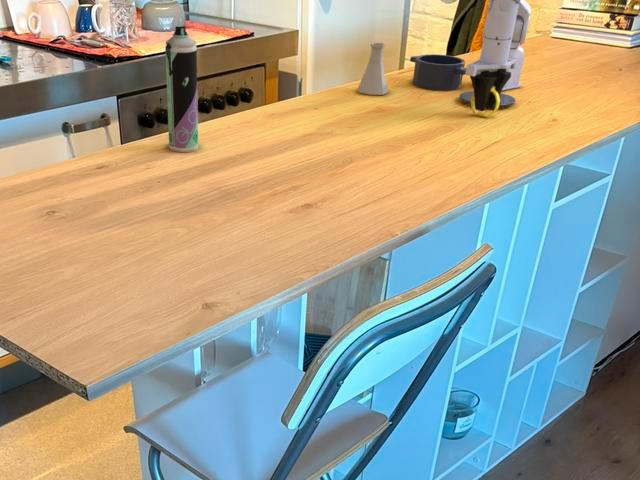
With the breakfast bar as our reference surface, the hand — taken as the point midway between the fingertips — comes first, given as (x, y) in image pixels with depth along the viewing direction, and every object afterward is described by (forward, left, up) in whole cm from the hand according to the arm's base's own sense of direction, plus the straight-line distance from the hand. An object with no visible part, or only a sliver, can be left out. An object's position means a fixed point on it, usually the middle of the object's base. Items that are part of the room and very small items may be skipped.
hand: (483, 109), depth 176 cm
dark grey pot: (-13, -25, -1) cm, 28 cm away
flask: (+6, -28, -2) cm, 29 cm away
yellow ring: (0, 0, -2) cm, 2 cm away
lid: (-10, -7, -1) cm, 12 cm away
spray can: (+68, -16, -2) cm, 70 cm away
